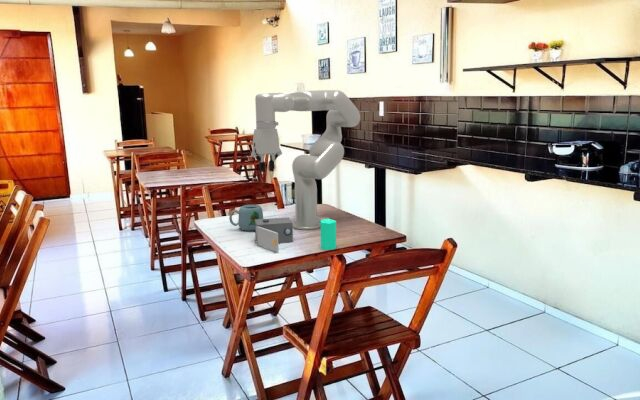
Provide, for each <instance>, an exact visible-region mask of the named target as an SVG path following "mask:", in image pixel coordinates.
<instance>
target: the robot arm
mask: <svg viewBox="0 0 640 400" xmlns="http://www.w3.org/2000/svg"><path fill="white" fill-rule="evenodd" d="M254 100H255V101H254V102H255V124H256V125H255V126H256V127H255V128H256V129H253V136H252V151H251V153H250V156H251V157H252V158H255V159H256V160H257V161H258V162H259V170H260V172H262V173H266V162H265V161H264V160H265V155H269V161H268V170H269V172H274V171H275V162H276V160H277V159H278V157H280V156H281V155H283V152H282V149H281V148H280V139H279V132H278V129H277V128H276V127H277V126H279V122H278V121H276V113H287V112H291V111H293V112H317V111H327V113H326V117H325V118H326V120H325V121H326V129H325V131H324V132H323V133H322V135H321V136H320V137H319V138H318V139H316V141H315V142H314V143H313V144H312V145H311V147H310V148H309V154H301V155H297V156H296V157H295V158H294V159H293V161H292V165H291V168H292V174H293V179H294V200H295V201H294V204H295V207H294V208H295V209H294V210H295V221H294V222H292V223H293V229H297V230H303V231H304V230H305V231H306V230H307V231H308V230H317V229H319V228H321V220H324V219H328V217H327V216H325V217H324V216H318V188H317V181H316V180H323V179H325V178H326V177H328V175H330V174H331V172H333V170H334V169H336V168H337V166H338V165H339V164H340V163H341V161H342V159H343V158H344V155H345V148H344V145H343V144H342V143H341V142H342V140H343V135H342V128H354V127H356V126H358V125H359V123H360V121H361V114H360V111H359V109H358V107H357V106H356V105H355V104H354V103H353V102H352V100H351V99H350V98H349V97H348V95H347V94H346V93H344V92H343V91H341V90H339V89H337V90H336V89H334V90H333V89H329V90H328V89H323V90H318V89H317V90H302V91H301V90H300V91H290V92H289V91H288V92H271V93H270V92H269V93H257V94H256V96H255V99H254Z"/></svg>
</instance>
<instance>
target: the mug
mask: <svg viewBox="0 0 640 400" xmlns="http://www.w3.org/2000/svg"><path fill="white" fill-rule="evenodd" d="M263 212H264V211H263V207H262V206H260V205H258V204H245V205H242V206H240V207H239V209H238V210H237V209H232V210H231V211H230V213H229V222H230V224H231V225H232V226H233V227H236V226H238V228H239V229H241V230H242V231H245V232H252V231H253V232H255V219H264V213H263ZM233 213H236V214H238V219H237V222H236V223H235V222H234V221H233Z"/></svg>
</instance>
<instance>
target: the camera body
mask: <svg viewBox="0 0 640 400" xmlns="http://www.w3.org/2000/svg"><path fill="white" fill-rule="evenodd" d="M293 223H294V222H293V221H292V220H291V218H290V217H274V218H271V217H270V218H263V219H255V231H254V239H255V240H256V226H259V227H262V228H265V229H268V230H271V231H274V232H277V233H278V244H284V243H285V244H286V243H287V244H288V243H294V232H293V231H294V228H293Z"/></svg>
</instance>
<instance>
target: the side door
mask: <svg viewBox="0 0 640 400" xmlns="http://www.w3.org/2000/svg"><path fill="white" fill-rule="evenodd" d="M255 241H256V242H255V243H256V245H257V246H260V247H263V248H265V249H268V250H271V251H273V252H276V253H279V243H278V233H277V232H274V231H271V230H268V229H265V228H262V227H259V226H256V239H255Z"/></svg>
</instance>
